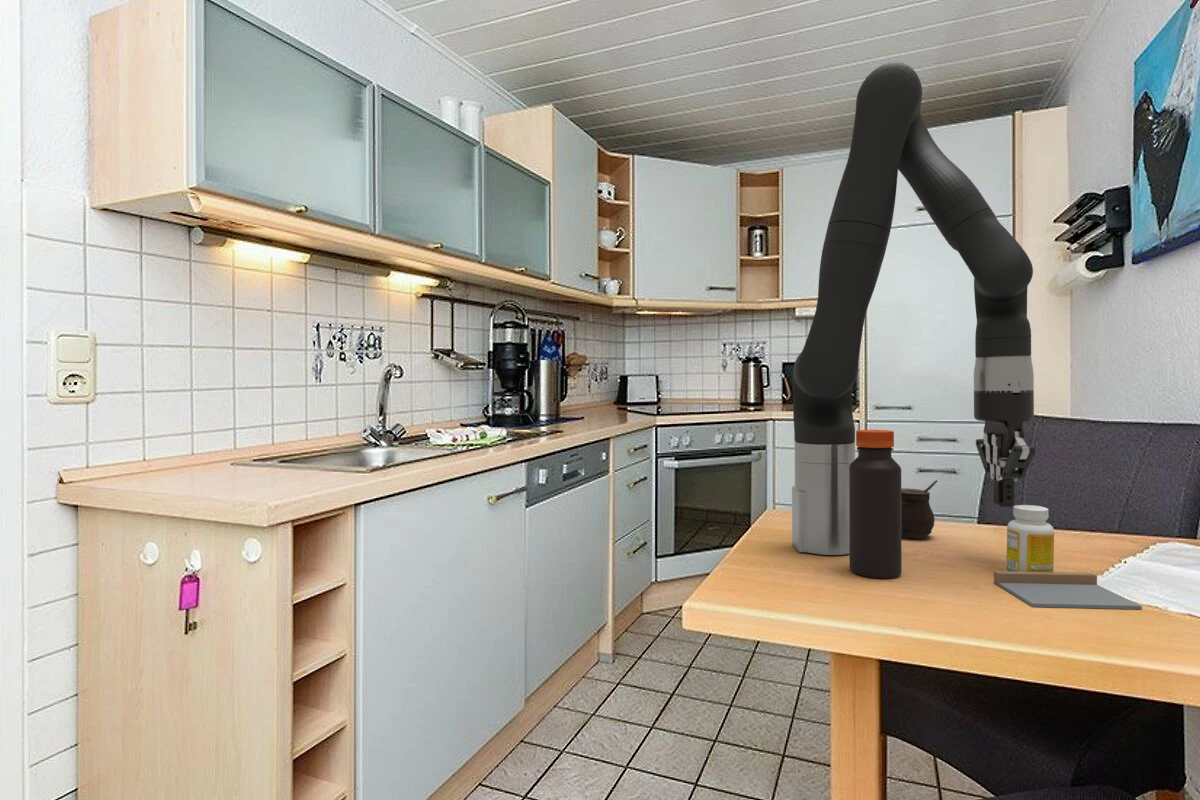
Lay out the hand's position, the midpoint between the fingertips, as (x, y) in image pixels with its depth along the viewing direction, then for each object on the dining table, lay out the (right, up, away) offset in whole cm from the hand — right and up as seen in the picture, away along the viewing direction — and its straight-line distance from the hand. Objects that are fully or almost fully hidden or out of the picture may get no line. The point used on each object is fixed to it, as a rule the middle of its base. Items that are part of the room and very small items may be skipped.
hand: (1004, 505), depth 97 cm
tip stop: (-2, -9, -15) cm, 18 cm away
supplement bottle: (-1, -9, -7) cm, 11 cm away
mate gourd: (-5, -8, +17) cm, 20 cm away
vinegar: (-21, -9, -4) cm, 23 cm away
